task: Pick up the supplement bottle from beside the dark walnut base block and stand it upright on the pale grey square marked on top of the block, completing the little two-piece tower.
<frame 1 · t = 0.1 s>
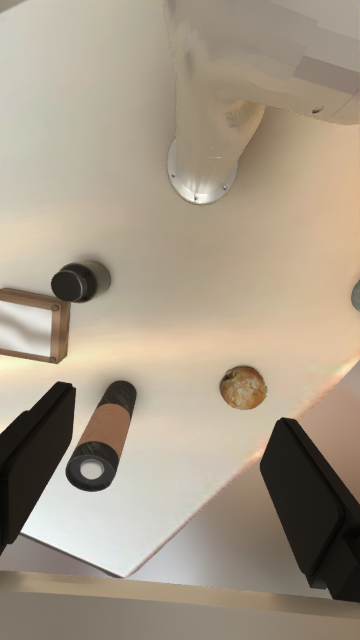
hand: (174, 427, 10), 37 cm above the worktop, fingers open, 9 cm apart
supplement bottle: (95, 278, 44), on the worktop
travel mug: (122, 392, 51), on the worktop
walnut base block: (38, 323, 46), on the worktop
bread roll: (241, 383, 52), on the worktop
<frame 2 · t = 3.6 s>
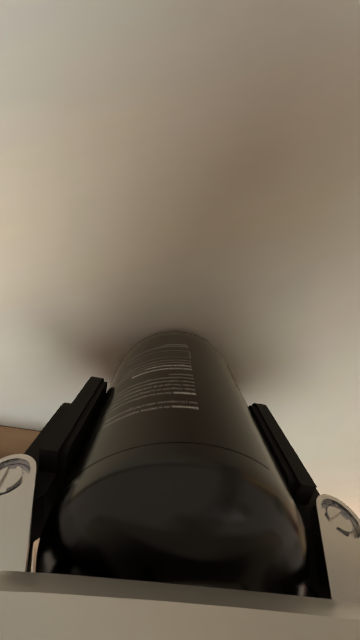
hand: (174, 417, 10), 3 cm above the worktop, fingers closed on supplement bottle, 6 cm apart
supplement bottle: (174, 378, 14), on the worktop, touching gripper
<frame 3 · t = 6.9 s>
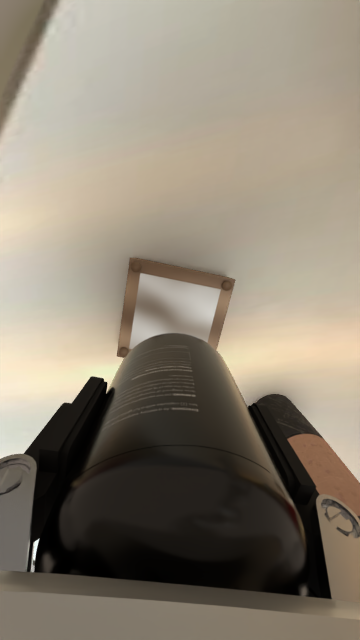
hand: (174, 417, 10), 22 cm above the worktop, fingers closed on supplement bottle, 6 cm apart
supplement bottle: (174, 379, 14), point 18 cm above the worktop, touching gripper
travel mug: (271, 411, 37), on the worktop
walnut base block: (173, 312, 31), on the worktop
when the fingers open (9 cm above the worktop, at t = 10.2 s): supplement bottle drops 2 cm, resting on walnut base block.
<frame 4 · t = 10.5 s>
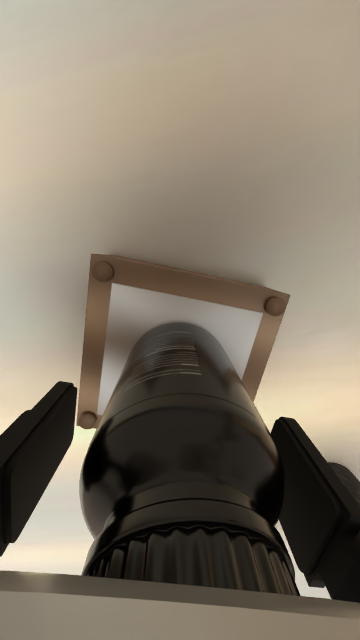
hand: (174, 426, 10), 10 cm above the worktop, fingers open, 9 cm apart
supplement bottle: (178, 364, 15), point 4 cm above the worktop, touching walnut base block
travel mug: (321, 484, 25), on the worktop
walnut base block: (174, 344, 19), on the worktop
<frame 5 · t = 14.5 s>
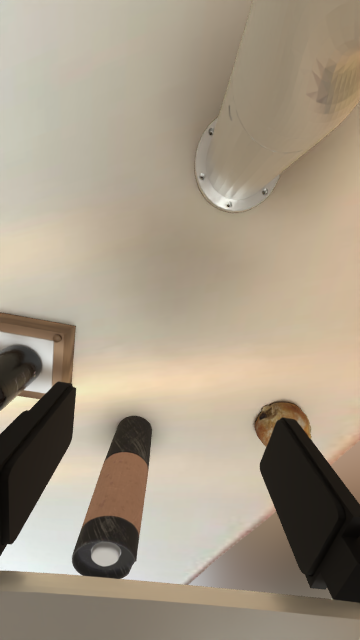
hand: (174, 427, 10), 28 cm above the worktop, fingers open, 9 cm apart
supplement bottle: (23, 362, 35), point 4 cm above the worktop, touching walnut base block
travel mug: (135, 429, 44), on the worktop
walnut base block: (37, 352, 39), on the worktop
bread roll: (279, 419, 45), on the worktop
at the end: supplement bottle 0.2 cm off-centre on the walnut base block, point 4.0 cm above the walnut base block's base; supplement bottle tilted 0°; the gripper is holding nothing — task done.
